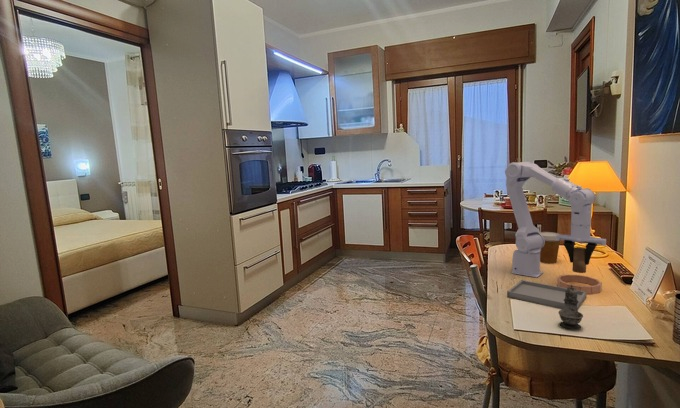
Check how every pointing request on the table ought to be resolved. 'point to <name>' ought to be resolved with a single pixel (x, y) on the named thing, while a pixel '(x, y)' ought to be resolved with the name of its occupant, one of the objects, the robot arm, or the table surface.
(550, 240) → the disposable coffee cup
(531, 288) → the tray
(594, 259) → the table surface
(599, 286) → the pinkish brown ring
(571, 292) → the dark grey figurine
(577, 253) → the dowel
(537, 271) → the robot arm
